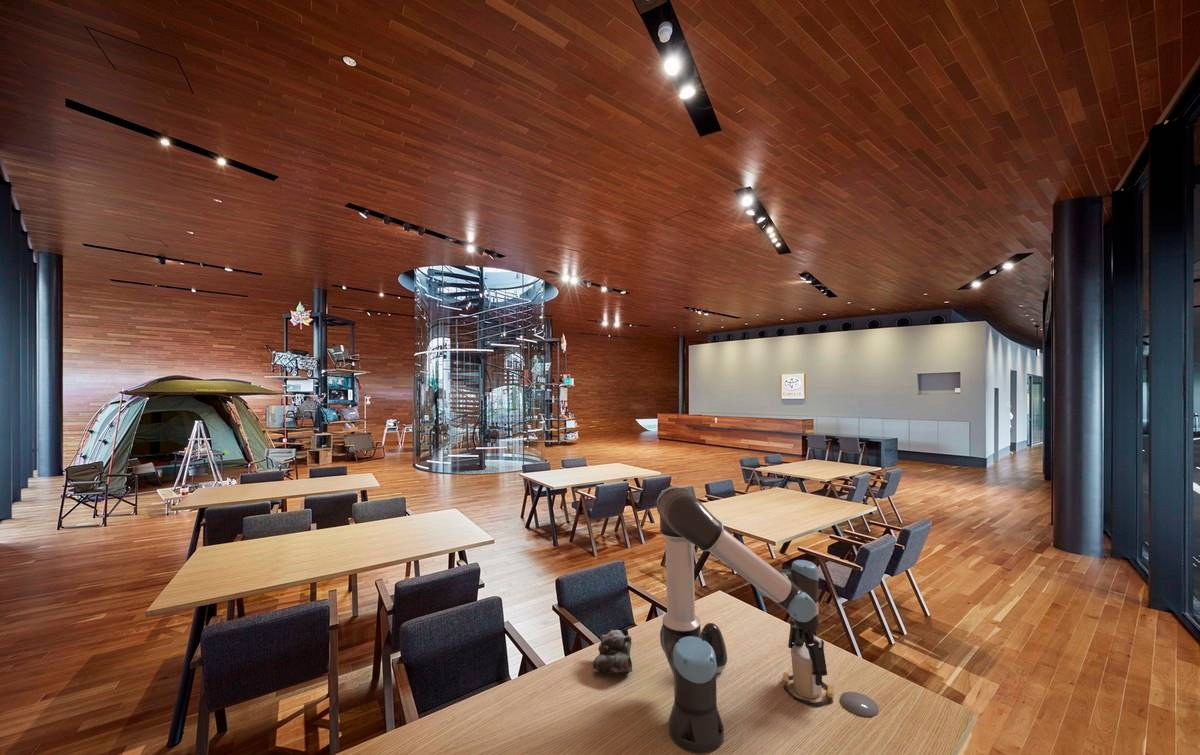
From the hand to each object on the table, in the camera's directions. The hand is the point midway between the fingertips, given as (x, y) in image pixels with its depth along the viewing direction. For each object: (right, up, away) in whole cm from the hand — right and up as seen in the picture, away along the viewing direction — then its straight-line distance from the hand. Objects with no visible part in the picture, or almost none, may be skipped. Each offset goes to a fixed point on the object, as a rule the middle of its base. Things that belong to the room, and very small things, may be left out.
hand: (807, 683), depth 144 cm
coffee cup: (0, -2, 0) cm, 2 cm away
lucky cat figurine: (-61, -4, +12) cm, 63 cm away
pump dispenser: (-27, -3, +12) cm, 30 cm away
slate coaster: (+13, -2, -7) cm, 14 cm away
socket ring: (0, -2, 0) cm, 2 cm away
